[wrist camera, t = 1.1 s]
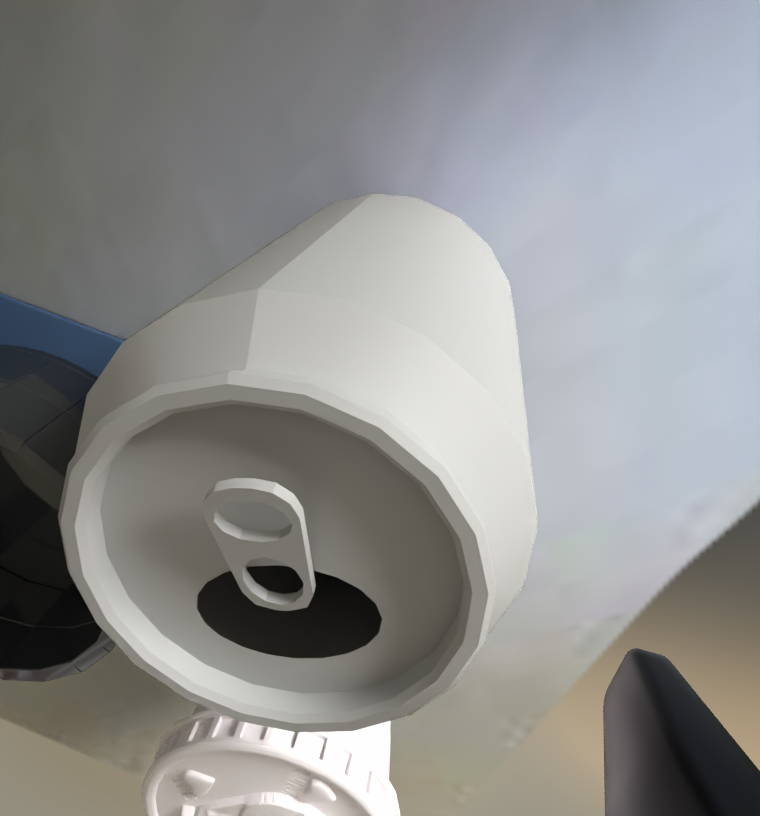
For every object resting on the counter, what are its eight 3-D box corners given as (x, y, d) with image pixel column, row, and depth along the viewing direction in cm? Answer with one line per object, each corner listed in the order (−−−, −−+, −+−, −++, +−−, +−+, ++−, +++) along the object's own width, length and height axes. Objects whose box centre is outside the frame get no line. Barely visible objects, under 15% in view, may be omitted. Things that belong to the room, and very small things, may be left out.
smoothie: (428, 639, 25) (365, 1185, 12) (270, 621, 26) (64, 1112, 13) (433, 502, 22) (356, 1034, 10) (255, 488, 23) (-26, 954, 10)
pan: (-108, 509, 26) (-215, 583, 22) (-66, 282, 21) (-195, 325, 17) (135, 633, 27) (74, 726, 23) (231, 445, 22) (174, 522, 18)
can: (288, 427, 21) (88, 752, 11) (251, 197, 18) (-84, 338, 8) (513, 427, 20) (539, 797, 10) (516, 179, 17) (560, 320, 6)
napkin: (-117, 548, 27) (-121, 551, 27) (-136, 241, 21) (-142, 242, 21) (186, 661, 28) (184, 665, 27) (261, 392, 21) (259, 394, 21)
